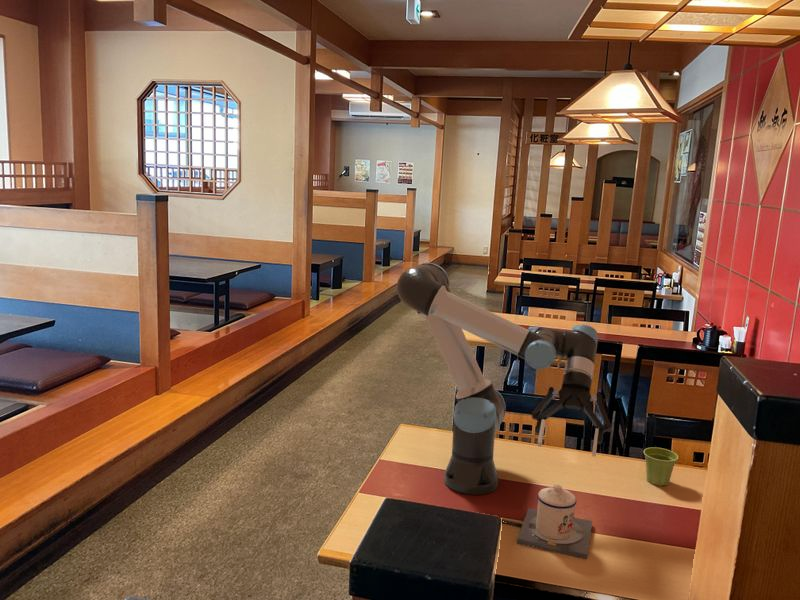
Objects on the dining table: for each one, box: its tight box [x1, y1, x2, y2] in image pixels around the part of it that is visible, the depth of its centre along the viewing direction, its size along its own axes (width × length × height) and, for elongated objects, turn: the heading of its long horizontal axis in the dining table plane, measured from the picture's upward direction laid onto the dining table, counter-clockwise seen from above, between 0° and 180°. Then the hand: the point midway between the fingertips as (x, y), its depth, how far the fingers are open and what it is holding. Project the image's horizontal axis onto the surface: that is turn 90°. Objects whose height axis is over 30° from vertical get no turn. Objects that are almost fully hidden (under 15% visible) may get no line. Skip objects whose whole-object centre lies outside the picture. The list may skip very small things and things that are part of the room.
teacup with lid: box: [536, 484, 577, 540], centre depth 155 cm, size 12×9×12 cm
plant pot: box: [643, 446, 679, 487], centre depth 186 cm, size 9×9×9 cm
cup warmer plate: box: [501, 507, 593, 560], centre depth 157 cm, size 23×16×2 cm
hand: (566, 449), depth 163 cm, fingers open, 13 cm apart
